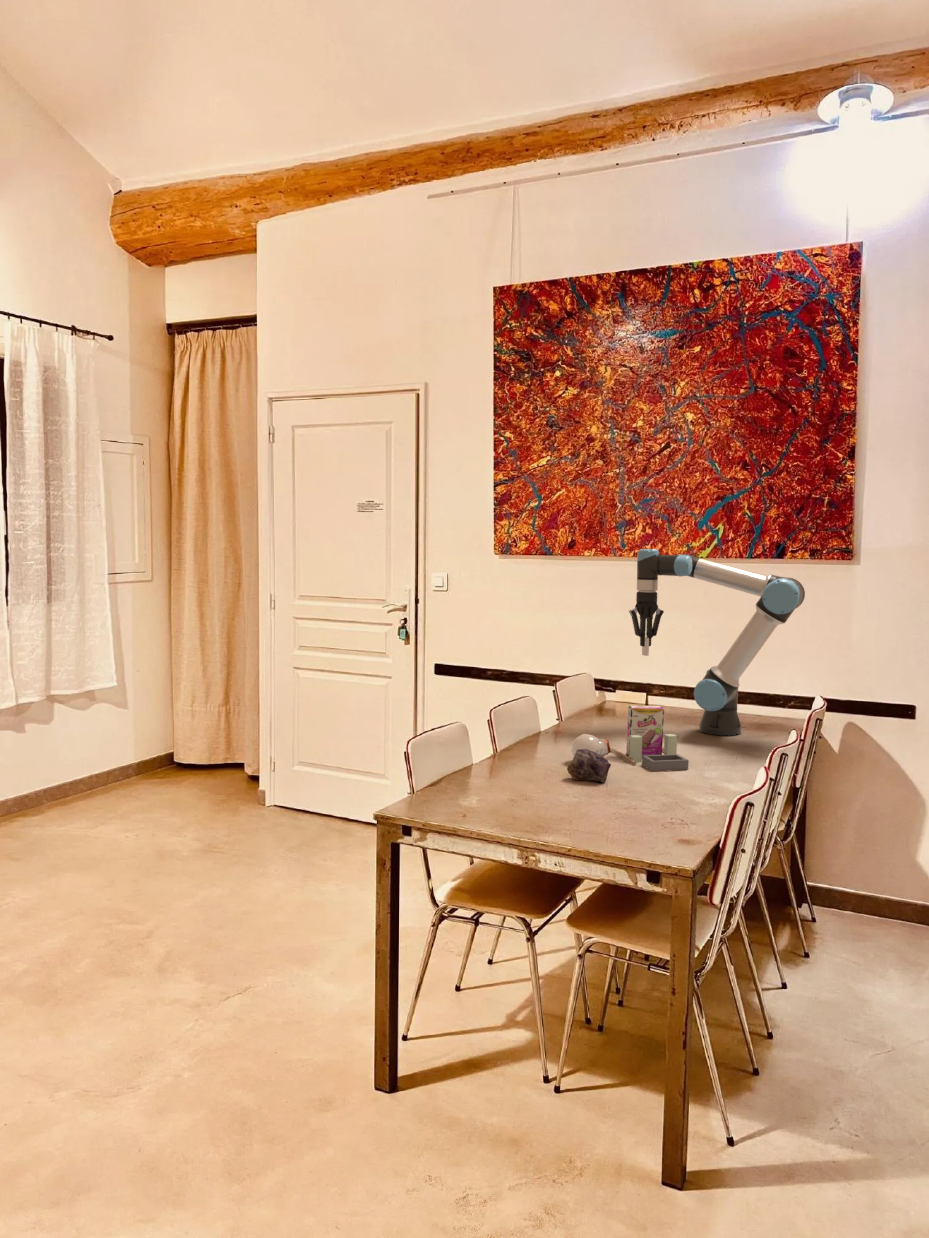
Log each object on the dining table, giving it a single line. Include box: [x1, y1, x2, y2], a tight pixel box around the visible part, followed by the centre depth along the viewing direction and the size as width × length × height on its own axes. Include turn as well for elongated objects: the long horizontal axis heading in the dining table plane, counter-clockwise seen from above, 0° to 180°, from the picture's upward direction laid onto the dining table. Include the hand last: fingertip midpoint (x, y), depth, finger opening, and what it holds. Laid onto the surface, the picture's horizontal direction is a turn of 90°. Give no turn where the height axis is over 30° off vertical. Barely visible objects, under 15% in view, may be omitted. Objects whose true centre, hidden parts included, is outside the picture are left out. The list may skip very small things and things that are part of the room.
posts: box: [628, 733, 678, 763], centre depth 313 cm, size 15×3×8 cm, turn 102°
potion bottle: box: [571, 733, 612, 757], centre depth 310 cm, size 9×10×15 cm
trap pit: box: [641, 753, 690, 772], centre depth 304 cm, size 12×8×3 cm, turn 102°
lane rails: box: [609, 744, 664, 766], centre depth 320 cm, size 18×26×1 cm
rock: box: [566, 749, 612, 783], centre depth 287 cm, size 12×9×10 cm
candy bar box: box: [625, 705, 665, 757], centre depth 318 cm, size 11×5×16 cm, turn 93°
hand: (645, 655), depth 356 cm, fingers closed
